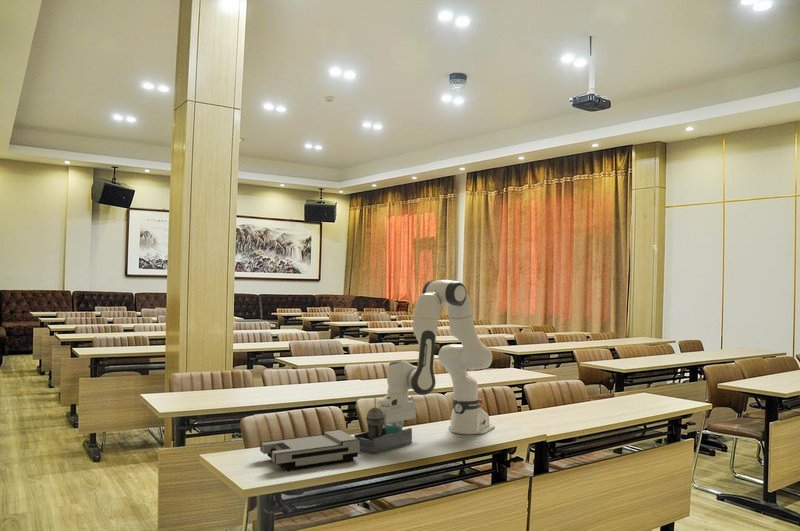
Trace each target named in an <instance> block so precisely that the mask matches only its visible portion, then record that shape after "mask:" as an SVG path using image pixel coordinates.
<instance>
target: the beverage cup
mask: <svg viewBox="0 0 800 531" xmlns="http://www.w3.org/2000/svg"><path fill="white" fill-rule="evenodd" d="M373 400H374V403H373V404H374V407H372V408H370V409H369V410H368V412H367V413H366V417H365V419H366V424H367V431H368V434H369V440H372V438H376V437H379V436H382V429H383V427H384V424H383V421H384V415H383V412H382V411H381V410H380V409H379V408H380V407H377V403H376V400H377V398H376V396H374V399H373Z"/></svg>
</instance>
